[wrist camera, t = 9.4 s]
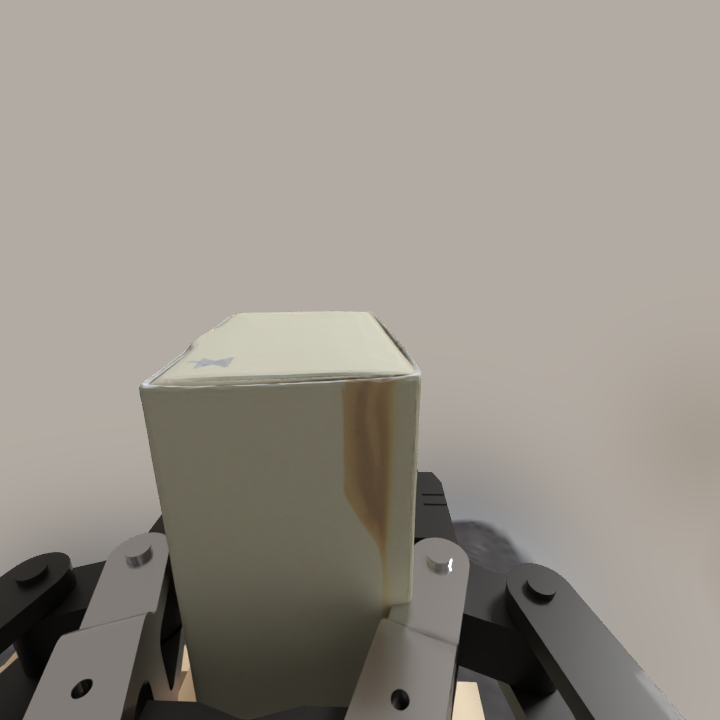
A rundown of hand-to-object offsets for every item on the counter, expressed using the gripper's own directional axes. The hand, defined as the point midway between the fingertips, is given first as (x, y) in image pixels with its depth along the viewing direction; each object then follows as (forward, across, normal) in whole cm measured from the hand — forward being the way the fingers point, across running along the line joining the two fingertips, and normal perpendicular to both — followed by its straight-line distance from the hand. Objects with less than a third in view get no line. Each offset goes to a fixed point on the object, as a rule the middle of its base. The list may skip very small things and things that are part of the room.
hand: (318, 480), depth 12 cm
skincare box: (-3, 0, +7) cm, 7 cm away
